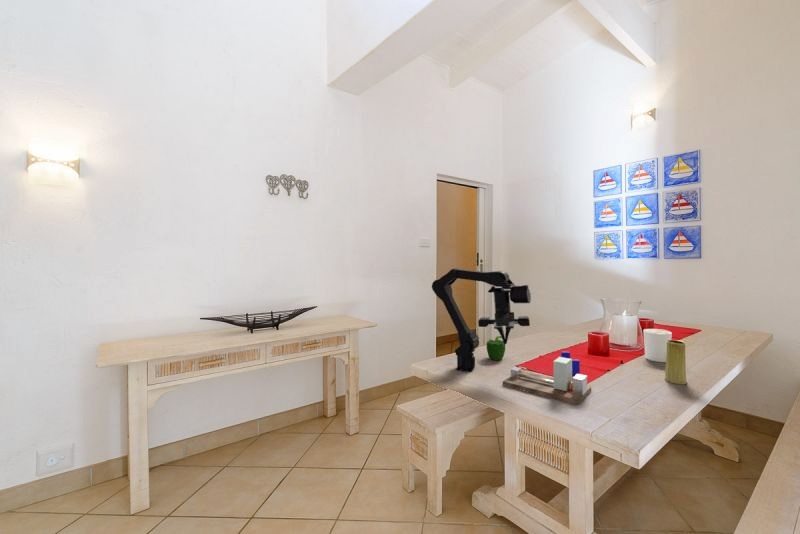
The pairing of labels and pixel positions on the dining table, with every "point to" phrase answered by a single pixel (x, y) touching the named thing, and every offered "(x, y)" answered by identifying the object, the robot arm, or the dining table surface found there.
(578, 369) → the blue stepped block
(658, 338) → the white cylinder
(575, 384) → the rod with end blocks
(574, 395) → the cord board
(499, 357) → the bell pepper
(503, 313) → the robot arm
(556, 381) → the notched sage block
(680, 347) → the vase
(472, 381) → the dining table surface
